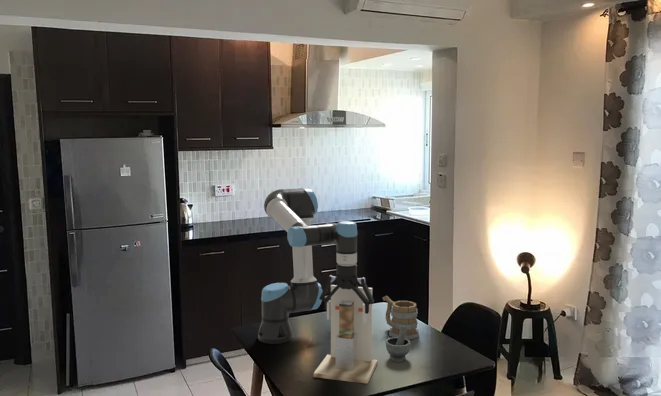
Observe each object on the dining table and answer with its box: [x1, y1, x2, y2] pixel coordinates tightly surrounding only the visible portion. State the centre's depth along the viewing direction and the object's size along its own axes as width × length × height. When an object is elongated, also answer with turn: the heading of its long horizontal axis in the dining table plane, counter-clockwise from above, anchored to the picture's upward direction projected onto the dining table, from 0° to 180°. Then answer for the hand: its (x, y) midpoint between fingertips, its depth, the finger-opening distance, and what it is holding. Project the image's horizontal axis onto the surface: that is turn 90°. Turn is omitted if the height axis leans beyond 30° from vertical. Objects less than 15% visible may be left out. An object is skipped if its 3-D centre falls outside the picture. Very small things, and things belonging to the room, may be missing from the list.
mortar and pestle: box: [385, 326, 411, 363], centre depth 215 cm, size 11×9×12 cm
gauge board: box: [330, 284, 373, 361], centre depth 209 cm, size 16×2×28 cm, turn 74°
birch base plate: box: [313, 353, 378, 384], centre depth 204 cm, size 20×18×2 cm
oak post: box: [339, 300, 354, 338], centre depth 203 cm, size 5×5×24 cm
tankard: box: [382, 295, 420, 341], centre depth 244 cm, size 20×13×15 cm, turn 34°
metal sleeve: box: [336, 333, 357, 371], centre depth 203 cm, size 7×7×12 cm
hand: (346, 320), depth 202 cm, fingers open, 13 cm apart
